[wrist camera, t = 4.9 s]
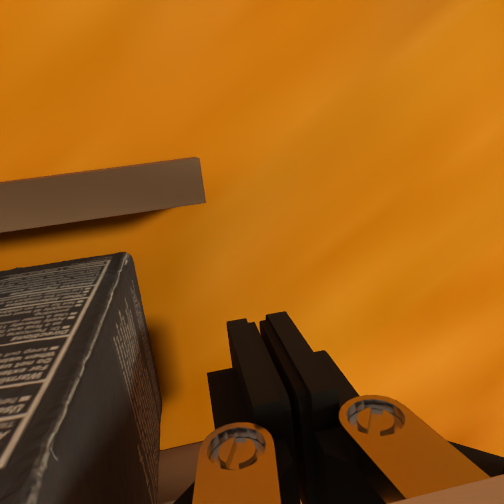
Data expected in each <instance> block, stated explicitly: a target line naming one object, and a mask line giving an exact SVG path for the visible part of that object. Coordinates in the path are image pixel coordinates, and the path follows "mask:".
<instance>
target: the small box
mask: <svg viewBox="0 0 504 504" xmlns="http://www.w3.org/2000/svg"><path fill="white" fill-rule="evenodd" d="M161 413H162V400H161V395H160V389H159V385H158V379H157V373H156V367H155V364H154V359H153V354H152V349H151V344H150V340H149V334H148V330H147V325H146V320H145V315H144V311H143V306H142V301H141V295H140V291H139V286H138V281H137V276H136V272H135V266H134V262H133V259H132V256H131V255H129V254H128V253H126V252H119V253H115V254H110V255H103V256H95V257H89V258H82V259H75V260H70V261H62V262H57V263H51V264H45V265H38V266H32V267H25V268H15V269H12V270H7V271H0V504H157V493H158V465H159V452H160V422H161Z"/></svg>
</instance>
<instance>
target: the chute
mask: <svg viewBox="0 0 504 504" xmlns="http://www.w3.org/2000/svg"><path fill="white" fill-rule="evenodd" d="M201 203H206V199H205V193H204V186H203V179H202V173H201V166H200V160H199V158H197V157H191V158H183V159H176V160H168V161H160V162H152V163H145V164H137V165H129V166H122V167H114V168H106V169H98V170H91V171H83V172H75V173H67V174H60V175H52V176H44V177H36V178H29V179H21V180H13V181H6V182H0V233H1V232H8V231H15V230H22V229H29V228H36V227H43V226H49V225H56V224H63V223H70V222H77V221H84V220H91V219H98V218H105V217H111V216H118V215H125V214H132V213H139V212H146V211H153V210H160V209H167V208H173V207H180V206H187V205H194V204H201ZM201 444H202V442H198V443H194V444H189V445H185V446H181V447H176V448H172V449H167V450H163V451H160V452H159V465H158V493H157V504H173V503H174V502H175V501H176V500H177V499H178V498H179V497H180V496H181V495H182V494H183V493H184V492H185V491H186V490H187V489H188V487H189V486H190V485H191V484H192V483H193V482H194V481H195V479H196V471H197V463H198V455H199V450H200V447H201Z"/></svg>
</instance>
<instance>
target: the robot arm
mask: <svg viewBox="0 0 504 504" xmlns="http://www.w3.org/2000/svg"><path fill="white" fill-rule="evenodd" d="M227 331H228V338H229V346H230V353H231V360H232V368H229V369H224V370H219V371H214V372H209V373H207V377H208V384H209V391H210V398H211V405H212V412H213V419H214V426H215V430H214V431H213V432H212V433H210V434H209V435H208V436H207V437H206V438H205V440H204V441H203V442H202V444H201V447H200V450H199V455H198V463H197V471H196V479H195V481H194V482H193V483H192V484H191V485H190V486H189V487H188V489H187V490H186V491H185V492H184V493H183V494H182V495H181V496H180V497H179V498H178V499H177V500H176V501H175V502H174V503H173V504H301V502H302V504H504V457H500V456H497V455H493V454H490V453H487V452H483V451H480V450H477V449H473V448H470V447H466V446H463V445H460V444H456V443H453V442H449V441H447V440H445V439H444V438H443V437H442V436H441V435H439V434H438V433H437V432H436V431H435V430H433V429H432V428H431V427H430V426H429V425H427V424H426V423H425V422H424V421H423V420H421V419H420V418H419V417H418V416H417V415H415V414H414V413H413V412H412V411H411V410H409V409H408V408H407V407H406V406H405V405H403V404H401V403H400V402H398V401H397V400H394V399H391V398H388V397H385V396H379V395H364V396H359V395H358V393H357V392H356V391H355V389H354V388H353V387H352V385H351V384H350V383H349V381H348V380H347V379H346V377H345V376H344V375H343V373H342V372H341V371H340V369H339V368H338V367H337V365H336V364H335V363H334V361H333V360H332V359H331V357H330V356H329V355H328V353H327V352H326V351H325V350H322V351H317V352H313V351H312V349H311V348H310V346H309V345H308V343H307V342H306V340H305V339H304V337H303V336H302V335H301V333H300V332H299V330H298V329H297V327H296V326H295V324H294V323H293V321H292V320H291V318H290V317H289V316H288V314H287V313H286V312H285V311H284V312H278V313H273V314H267V315H266V320H263V321H260V333H259V331H258V329H257V326H256V324H255V322H252V323H248V322H247V319H246V318H245V319H239V320H233V321H228V322H227ZM260 334H261V335H260ZM300 499H301V502H300Z"/></svg>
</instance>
